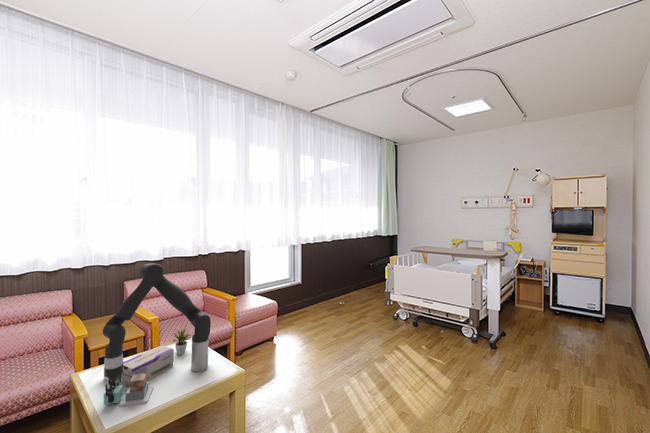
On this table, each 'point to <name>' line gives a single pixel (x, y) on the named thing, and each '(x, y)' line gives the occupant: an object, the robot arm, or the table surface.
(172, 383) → the table surface
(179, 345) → the house plant
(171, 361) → the surgical sutures box
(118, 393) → the teal block
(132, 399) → the plate
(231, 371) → the table surface
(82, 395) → the table surface
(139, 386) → the walnut block
